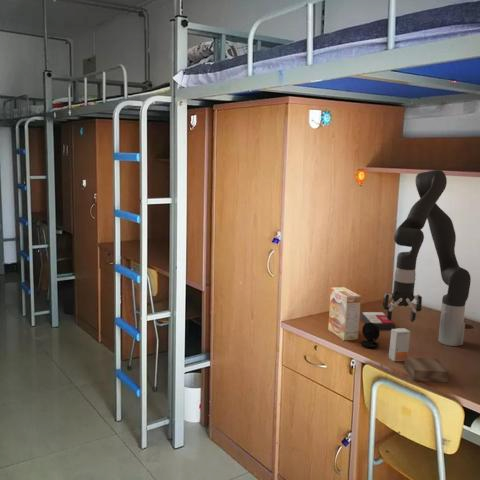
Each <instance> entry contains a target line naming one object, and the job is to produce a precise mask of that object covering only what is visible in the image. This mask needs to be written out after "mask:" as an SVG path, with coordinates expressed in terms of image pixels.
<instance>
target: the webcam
mask: <svg viewBox="0 0 480 480" xmlns="http://www.w3.org/2000/svg"><path fill="white" fill-rule="evenodd" d="M361 329H362V331H361V333H362V336H363V337H364V338H365V340H362V341H361V342H360V346H361V347H363V348H365V349H371V350H375V349H378V348H380V344H379V343H378V342H377V340H378V339H379V337H380V329H379V328H378V327H377V325H376V324H374V323H371V322H369V323H366V324H365V323H364V325H362V328H361Z"/></svg>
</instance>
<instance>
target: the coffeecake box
mask: <svg viewBox="0 0 480 480" xmlns="http://www.w3.org/2000/svg"><path fill="white" fill-rule="evenodd" d="M329 299H330V300H329V312H328V313H329V314H328V315H329V316H328V331H330V332H331V333H333V334H334V335H335V336H337V337H339V338H340V339H341V340H342V341H344V340H346V341H354V340H356V339H357V340H359V326H360V317H361V302H362V301H361V299H362V295H360V294H357V293H356V292H354V291H352V290H350V289H348V288H347V287H345V286H342V287H341V286H340V287H336V286H335V287H331V288H330V298H329Z"/></svg>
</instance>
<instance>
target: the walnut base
mask: <svg viewBox="0 0 480 480" xmlns="http://www.w3.org/2000/svg"><path fill="white" fill-rule="evenodd" d="M403 362H404V364H403V368H404V369H405V371H406V372H407V374H408V375H409V377H410V379H412V381H413V382H429V383H430V382H431V383H432V382H433V383H449V382H448V380H449V370H448V369H447V368H446V367H445V366H444V365H443V364H442V362H441V361H440V360H439V359H438V358H429V357H428V358H426V357H408V358H407V357H405V361H403Z"/></svg>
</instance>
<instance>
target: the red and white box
mask: <svg viewBox="0 0 480 480" xmlns="http://www.w3.org/2000/svg"><path fill="white" fill-rule="evenodd" d="M360 320H361V322H363V323H364V325H365V324H366V323H369V322H371V323H374V324H376V325H377V327H378V328H379V330H381V331H382V330H390V331H391V329H395V323H394V322H393V320H391V321H389V320H388V319H387V314H385V313H384V312H382V311H379V312H378V311H377V312H376V311H371V312H370V311H367V312H366V311H364V312H360Z"/></svg>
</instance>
